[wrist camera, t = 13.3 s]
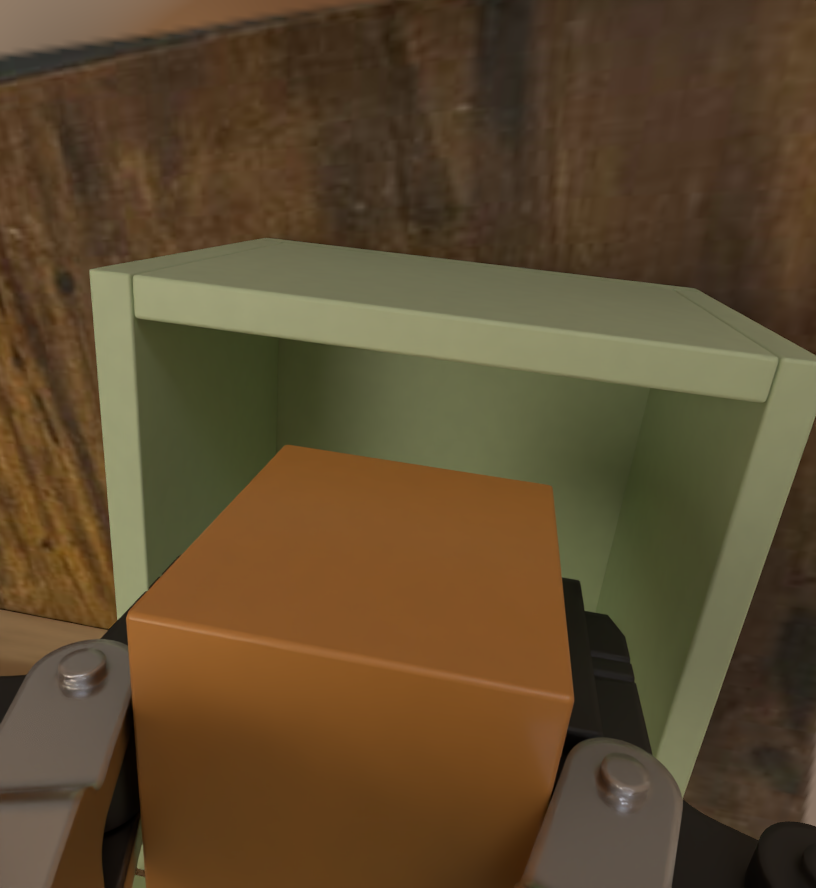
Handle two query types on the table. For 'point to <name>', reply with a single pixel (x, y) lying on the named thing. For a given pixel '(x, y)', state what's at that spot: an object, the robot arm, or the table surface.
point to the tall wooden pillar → (35, 639)
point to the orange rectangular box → (353, 682)
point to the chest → (469, 423)
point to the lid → (139, 882)
